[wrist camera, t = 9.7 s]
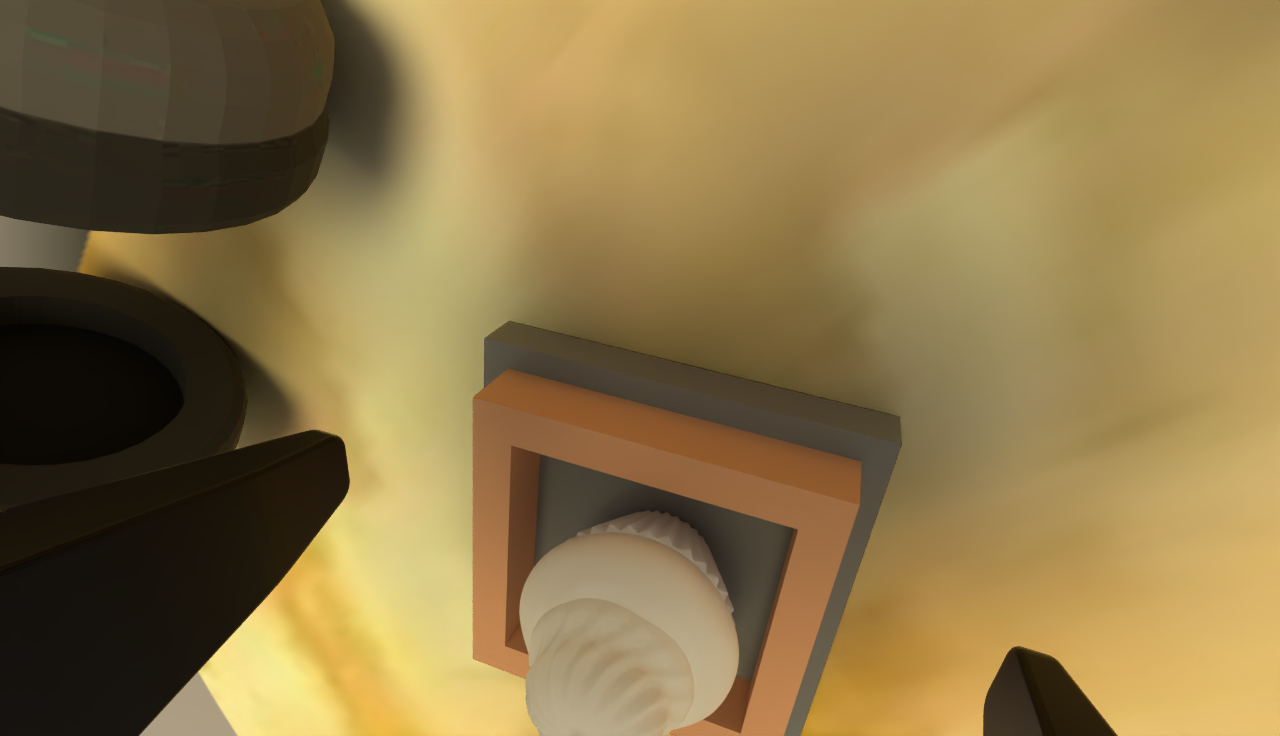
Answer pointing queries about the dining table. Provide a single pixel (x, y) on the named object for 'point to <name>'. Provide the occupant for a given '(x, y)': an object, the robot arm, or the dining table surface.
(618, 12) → the dining table surface
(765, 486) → the pocket board
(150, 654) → the robot arm
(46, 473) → the headphones
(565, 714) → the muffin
